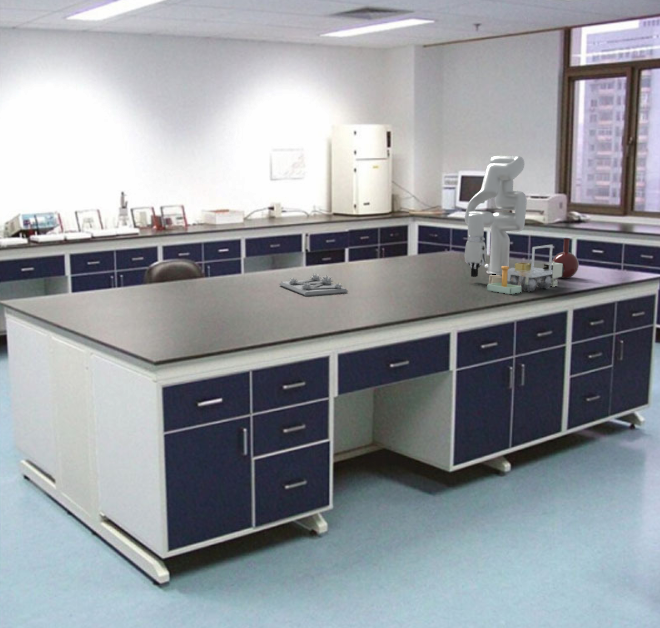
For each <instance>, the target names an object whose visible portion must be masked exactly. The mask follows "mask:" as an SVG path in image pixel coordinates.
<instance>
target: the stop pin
mask: <svg viewBox="0 0 660 628" xmlns="http://www.w3.org/2000/svg"><path fill="white" fill-rule="evenodd" d="M509 268H510V266H509V267H508V266H501V269H502V275H501V277H502V287H507V275H508V269H509Z"/></svg>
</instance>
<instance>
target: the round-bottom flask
mask: <svg viewBox="0 0 660 628" xmlns="http://www.w3.org/2000/svg"><path fill="white" fill-rule="evenodd" d="M570 240H571V238H568V237H565V238H564V237H563V251H562V252H558V253H556V255H555V256H554V257H552V263H553V261H554V262H555V263H562V264H563V267H564V272H563V276H562V277H559V278H560V279H569V278H572V277H573V276H575V275H576V274H577V272H578V270H579V264H580V263H579V260H578V258H577V256H576V255H575V254H573V253H572V252H569V250H570V249H569V248H570Z"/></svg>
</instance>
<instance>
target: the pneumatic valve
mask: <svg viewBox="0 0 660 628" xmlns="http://www.w3.org/2000/svg"><path fill="white" fill-rule="evenodd" d="M542 269H549V263H544V264H543V267H542ZM551 270H553V273H552V274H551V275H549V276H550V277H551V280H552V283H551V286H552V287H551V288H556V287H555V286H557V287H558V282H559V281H558V278H560V277H562V276H563V272H564V267H563V264H562V263H555V262H554V261H553V263H552V265H551Z"/></svg>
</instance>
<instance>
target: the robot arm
mask: <svg viewBox="0 0 660 628" xmlns="http://www.w3.org/2000/svg"><path fill="white" fill-rule="evenodd" d="M524 169H525V159H524V158H523V157H522V156H520V155H494V156H492V157H491V158H490V159H489V164H488V165H487V166H486V168H485V171H484V176H483V180H482V183H481V188H480V190H479V191H478V192H477V193H475V194H474V196H473V197H471V199H470V200H469V202H468V204H467V206H466V210H465V214H464V222H465V224H466V225H467V241H466V243H465V248H464V261H465V264H467V265H468V266H469V268H470V276H471V277H472V278H475V277H478V276H479V269H480V267H481V266H482V267H484V268H485V269H487V270H486V274H488V275H492V274H496V275H500V276H502V269H501V266H508V267H509V268H510V266H509V264H510V262H509V261H510V245H511V244H510V243H511V240H510V236H509V234H508V233H507V232H512V233H513V232H514V233H517V232H519V233H520V232H522V231H523V230H524V228H525V224H526V223H525V222H526V212H527V203H528V202H527V196H526V193H525V192H523V191H518V190H517V191H516V190H514V180H515V179H516V178H517V177H518V176H519V175H520V174H521V173H522V172H523V171H524ZM492 199H494V205H495V208H496V209H499V210H505V211H496V212H492V211H483V210H476V208H477V207H478V206H479V205H480V204H482V203H484V202H486V201H489V200H492ZM508 210H510V211H514V212H507V211H508ZM485 228H490V254H489V255H490V257H489V263H485V262H486V261H487V248H486V243H485V240H486V238H485V237H484V233H485V232H484V230H485Z"/></svg>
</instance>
